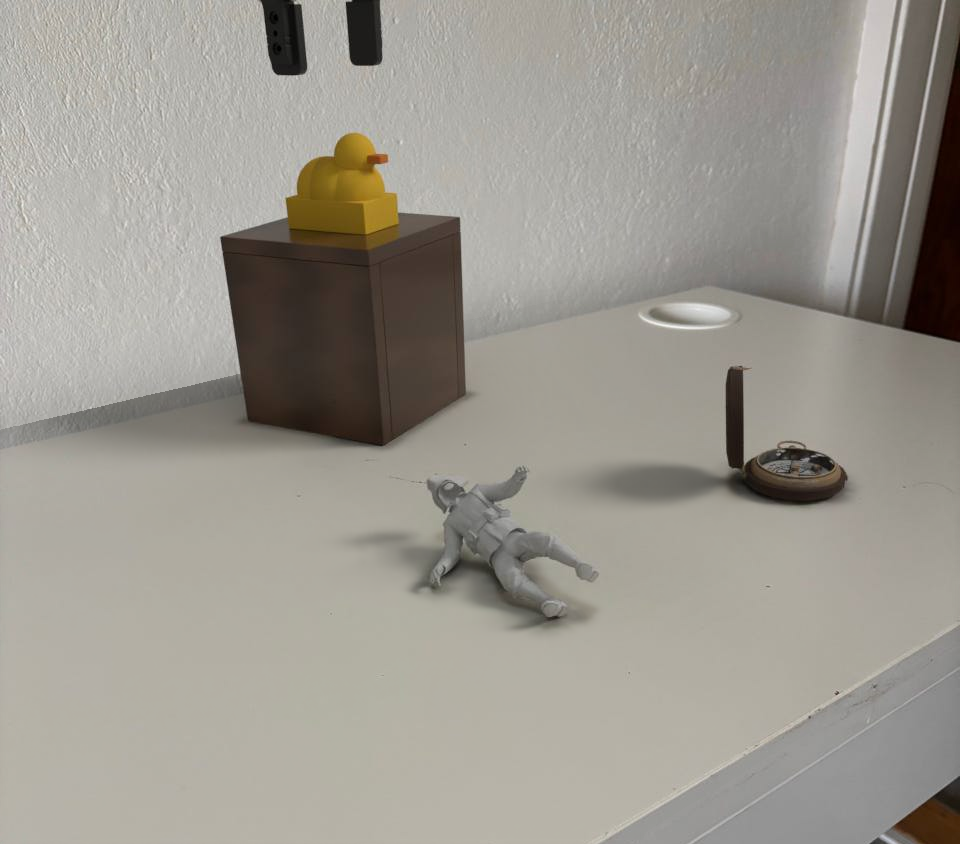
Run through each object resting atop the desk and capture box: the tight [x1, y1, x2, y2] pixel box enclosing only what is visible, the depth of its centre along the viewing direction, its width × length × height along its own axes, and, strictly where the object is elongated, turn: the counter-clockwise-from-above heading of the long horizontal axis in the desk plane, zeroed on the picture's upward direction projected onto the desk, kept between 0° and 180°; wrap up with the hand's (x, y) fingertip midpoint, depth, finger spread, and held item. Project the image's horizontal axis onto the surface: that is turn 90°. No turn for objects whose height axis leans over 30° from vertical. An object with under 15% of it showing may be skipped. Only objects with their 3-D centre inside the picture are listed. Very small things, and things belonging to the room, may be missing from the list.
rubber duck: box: [285, 132, 399, 235], centre depth 70 cm, size 7×4×6 cm, turn 62°
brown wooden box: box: [219, 212, 467, 446], centre depth 75 cm, size 12×12×13 cm
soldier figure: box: [426, 465, 600, 618], centre depth 54 cm, size 8×5×12 cm
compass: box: [725, 365, 849, 502], centre depth 63 cm, size 8×8×7 cm
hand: (330, 70), depth 66 cm, fingers open, 8 cm apart
